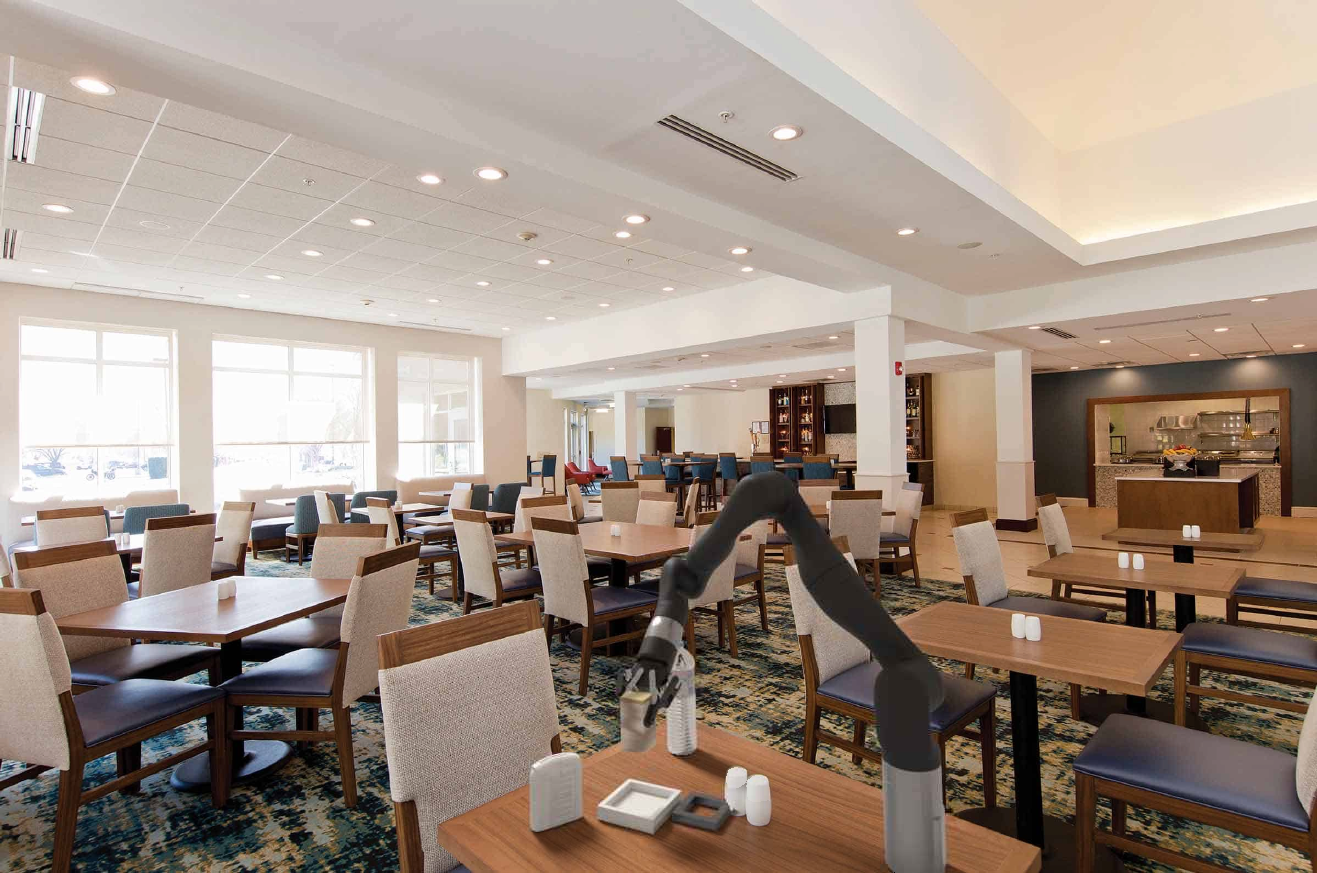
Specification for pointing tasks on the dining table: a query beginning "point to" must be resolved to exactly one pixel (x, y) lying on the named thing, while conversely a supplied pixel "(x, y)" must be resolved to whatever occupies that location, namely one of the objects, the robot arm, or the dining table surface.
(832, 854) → the dining table surface
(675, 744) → the water bottle
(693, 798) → the plate
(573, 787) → the white rounded slab
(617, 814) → the tray
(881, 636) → the robot arm
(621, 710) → the key block
